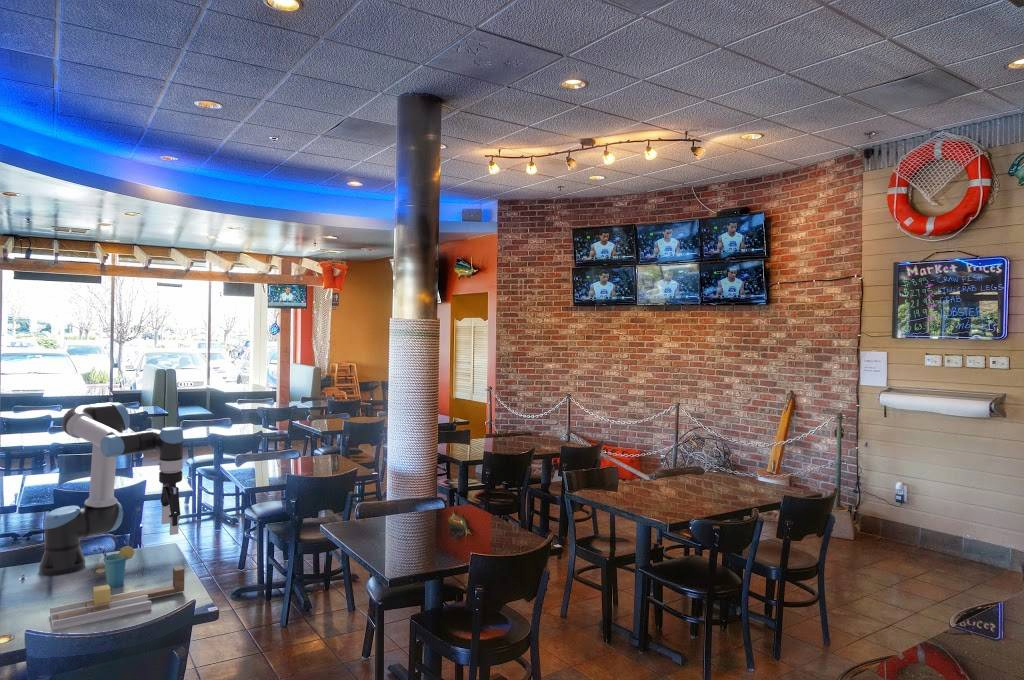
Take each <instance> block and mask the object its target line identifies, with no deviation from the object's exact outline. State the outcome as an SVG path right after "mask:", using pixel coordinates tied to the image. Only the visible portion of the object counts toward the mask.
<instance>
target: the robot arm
mask: <svg viewBox="0 0 1024 680" xmlns="http://www.w3.org/2000/svg"><path fill="white" fill-rule="evenodd" d="M130 424H131V420H130V415H129V412H128V409H127V407H126V406H125V405H124V404H123V403H121V402H119V401H118V402H101V403H100V402H99V403H90V404H81V405H77V406H74V407H72V408H70V409H69V410H67V412H66V413H65V414H64V415H63V417H62V419H61V427H62V429H63V431H64V433H66V434H67V435H68V436H70V437H72V438H74V439H75V438H76V439H83V440H85V441H87V442H89V443H91V444H92V449H91V450H92V451H91V463H90V464H91V465H90V478H89V479H90V481H89V492H88V494H89V496H88V498H86V499H85V501H84V502H83V503H84V506H83V507H80V506H79V505H68V506H67V505H66V506H62V507H58V508H55V509H53V510H51V511H49V512H48V513H47V514H46V515H45V517H44V525H43V527H44V553H43V555H42V558H41V561H40V563H39V567H38V569H39V570H38V571H39V574H41V575H44V576H61V575H68V574H71V573H75V572H78V571H80V570H82V569H84V568H85V567H86V559H85V556H84V554H83V551H82V547H81V539H83V538H84V539H85V538H88V537H93V536H98V535H102V534H108V533H109V532H113V531H115V530H117V529H118V528H119V527H120V526H121V524H122V522H123V517H124V510H123V506H122V504H121V503H120V502H119V501H118V498H116V497H115V483H116V481H115V480H116V470H117V468H116V467H117V457H120V456H126V455H127V456H128V455H134V454H140V453H146V452H153V451H154V452H159V462H157V465H158V466H159V472H158V481H159V483H161V484H162V488H161V496H160V501H159V502H160V503H161V525H167V524H169V536H174V535H179V526H180V525H179V520H180V517H181V507H180V493H179V492H180V488H179V487H178V486H177V483H181V482H182V481H183V465H184V457H183V456H184V455H183V453H184V451H183V450H184V431H183V428H181V427H178V426H166V427H162V428H161V429H160V428H159V429H158V428H155V427H154V428H146V429H145V430H142V431H136V432H135V431H133V432H126V433H124V432H125V431H127V430H128V429H129V427H130ZM123 431H124V432H123Z"/></svg>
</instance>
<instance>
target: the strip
mask: <svg viewBox="0 0 1024 680" xmlns="http://www.w3.org/2000/svg"><path fill="white" fill-rule="evenodd" d="M184 591H185V568H184V566H183V565H179V566H173V567H172V584H170V585H165V586H161V587H155V588H151V589H145V590H144V591H139V592H134V593H129V594H124V595H119V596H114V597H110V602H114V601H119V600H124V599H129V598H134V597H139V596H143V595H148V599H152V598H157V597H162V596H167V595H171V594H177V593H181V592H184ZM106 603H109V602H106ZM101 604H104V603H101ZM94 605H95V603H94V601H88V602H86V607H89V606H94ZM97 605H99V604H97Z"/></svg>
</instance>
